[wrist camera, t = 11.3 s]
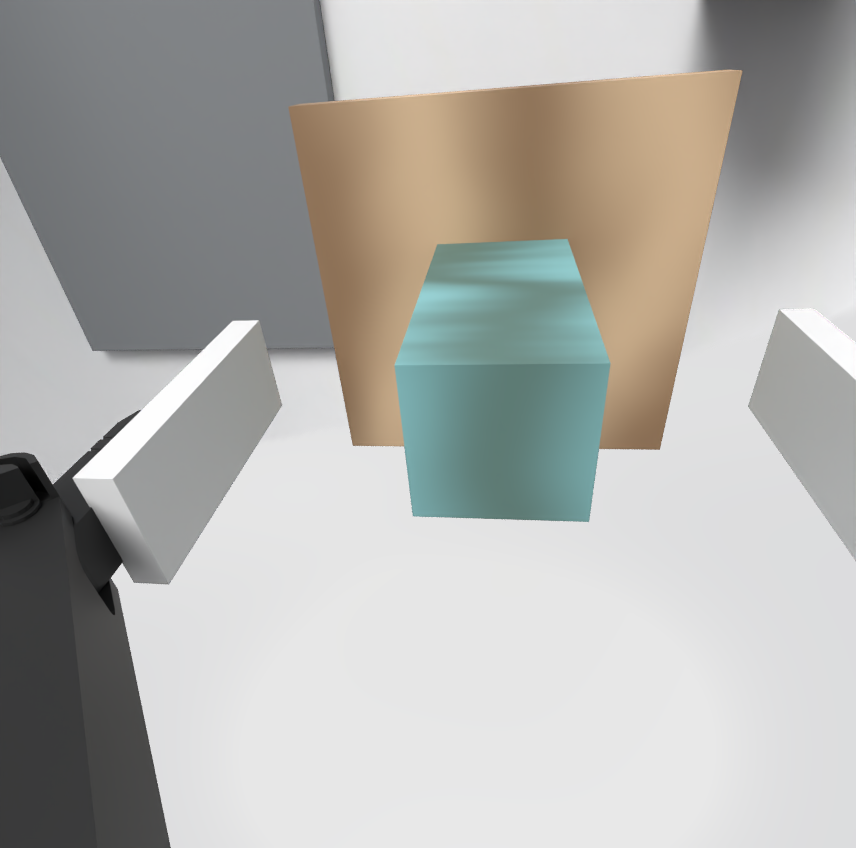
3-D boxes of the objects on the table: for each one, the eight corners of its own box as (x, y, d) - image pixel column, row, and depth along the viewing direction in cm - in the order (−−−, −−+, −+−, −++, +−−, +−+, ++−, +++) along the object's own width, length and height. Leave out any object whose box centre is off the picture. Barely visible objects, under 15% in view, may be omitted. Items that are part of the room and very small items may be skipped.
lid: (358, 431, 23) (287, 612, 15) (299, 104, 16) (122, 145, 8) (653, 434, 21) (734, 638, 14) (728, 69, 14) (971, 84, 7)
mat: (102, 343, 35) (92, 350, 34) (-60, -8, 25) (-79, -10, 24) (369, 339, 32) (366, 347, 31) (311, -53, 22) (304, -57, 21)
